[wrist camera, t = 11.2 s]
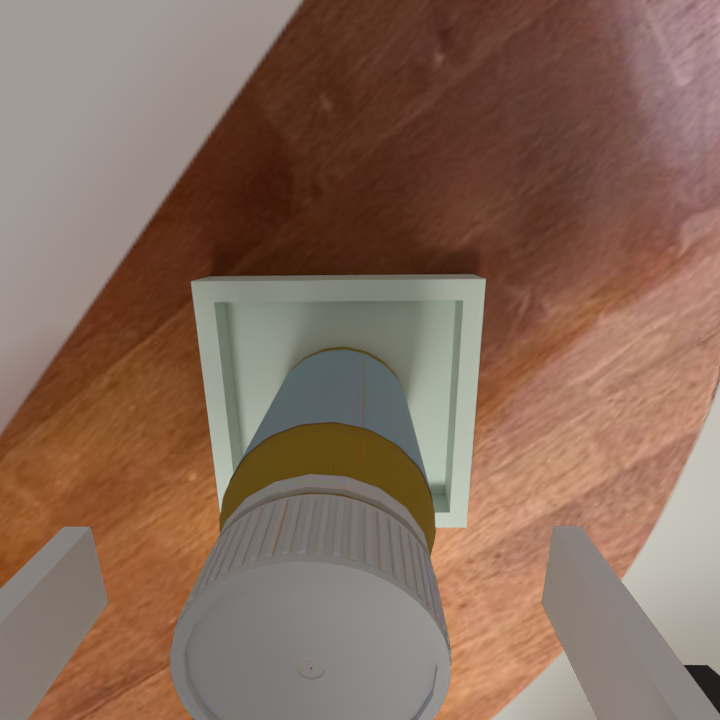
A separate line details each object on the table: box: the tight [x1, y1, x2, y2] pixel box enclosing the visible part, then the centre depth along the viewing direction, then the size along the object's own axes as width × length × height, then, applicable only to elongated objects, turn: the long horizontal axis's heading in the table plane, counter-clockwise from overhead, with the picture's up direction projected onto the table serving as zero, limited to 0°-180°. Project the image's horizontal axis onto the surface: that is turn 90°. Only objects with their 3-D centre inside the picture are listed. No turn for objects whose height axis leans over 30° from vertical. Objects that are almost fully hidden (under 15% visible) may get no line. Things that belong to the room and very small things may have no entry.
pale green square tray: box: [191, 274, 486, 528], centre depth 23 cm, size 14×14×2 cm
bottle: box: [170, 347, 452, 720], centre depth 16 cm, size 7×7×15 cm
